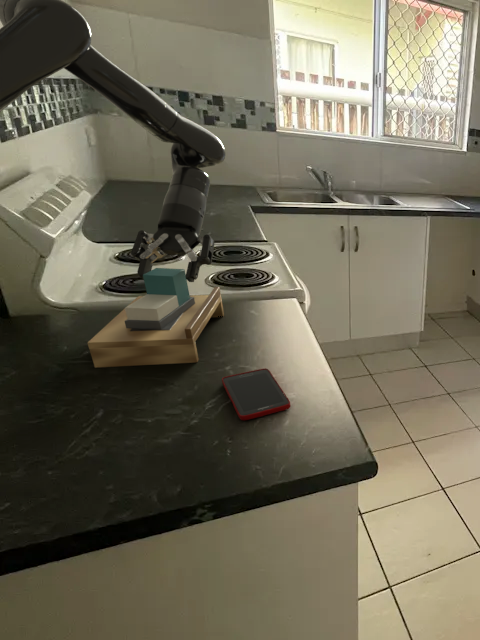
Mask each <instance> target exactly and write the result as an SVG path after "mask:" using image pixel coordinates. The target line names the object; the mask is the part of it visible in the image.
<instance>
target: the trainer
mask: <svg viewBox="0 0 480 640" xmlns="http://www.w3.org/2000/svg"><path fill="white" fill-rule="evenodd" d="M185 276H186V269H185V268H166V267H155V268H152V269H151V271H149V272H147V273H146V274H144V275H143V278H144V280H143V282H144V287H145V291H146V294H145V295H142V296H143V297H142V298H140V299H138V300H137V301H135V302H133V303H132V304H130V303H129V304H130V305H129V304H128V305H127V306H125V307H124V309H125V311H126V315H127V318H128V319H127V320H125V325H126V328H136V329H162V328H163V327H165V326H166V325H167V324H169V323H170V322H171V321H173V320H174V319H175V318H177V317H178V316H179V315H181V314H182V313H183V312H185V311H186V310H187V309H189V308H190V307H191V306H192V305H194V304H195V300H194V297H190V290H189V285H188V280H187V279H186V277H185Z"/></svg>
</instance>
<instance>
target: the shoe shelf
mask: <svg viewBox="0 0 480 640" xmlns="http://www.w3.org/2000/svg"><path fill="white" fill-rule="evenodd" d="M189 295H190V294H189ZM143 296H144V295H138V296H137V297H136V298H134V299H133V300H132V301H131V302H130V303H129V304H128V305H130V304H132V303H133V302H135V301H137V300H138V299H140V298H142V297H143ZM190 297H194V300H195V304H194V305H192V306H191V307H190V308H189V309H187V310H186V311H185V312H183V313H182V314H181V315H179V316H178V317H177V318H175V319H174V320H173V321H171V322H170V323H169V324H167V325H166V326H165V327H163V328H162V329H136V328H126V325H125V320H127V319H128V318H127V315H126V311H125V308H123V310H121V311H120V312H119V313H118V314H117V315H116V316H114V317H113V319H111V321H109V322H108V323H107V324H105V326H104V327H103V328H101V330H99V331H98V332H97V333H96V334H95V335H94V336H93V337H92V338H91V339H90V340H88V341H87V346H88V350H89V353H90V356H91V359H92V363H93V367H94V368H95V369H96V368H114V367H115V368H116V367H133V366H134V367H135V366H154V365H155V366H156V365H174V364H190V363H191V364H193V363H194V364H195V363H198V362H199V360H200V358H199V354H198V349H197V344H196V343H197V342H196V341H197V340H198V338H199V337H200V335H201V334H202V332H203V331H204V329H205V327H206V326H207V324H208V323H209V321H210V319H211V318H223V317H224V316H225V311H224V306H223V300H222V294H221V287H220V286H214V287H213V289H212V290H211V291H210V293H209V294H208V295H207V294H205V295H204V294H203V295H201V294H200V295H199V294H198V295H196V294H195V295H190ZM218 316H219V317H218ZM220 316H221V317H220ZM222 316H223V317H222Z"/></svg>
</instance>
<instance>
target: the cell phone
mask: <svg viewBox="0 0 480 640" xmlns="http://www.w3.org/2000/svg"><path fill="white" fill-rule="evenodd" d="M221 382H222V386H223V388H224V389H225V392H226V394H227V396H228V398H229V400H230V402H231V403H232V406H233V408H234V410H235V413H236V415H237V416H238V418H239V419H240V421H249V420H253V419H256V418H260V417H264V416H267V415H272V414H275V413H279V412H283V411H285V410H288V409H290V408H291V407H292V406H291V401H290V399H289V397H288V396H287V394H286V393H285V391H284V390H283V388H282V387H281V386H280V384H279V383H278V381H277V380H276V378H275V377H274V375H273V374H272V372H271V371H270V369H268V368H258V369H254V370H250V371H245V372H239V373H236V374H235V373H234V374H231V375H227V376H224V377H222V378H221Z"/></svg>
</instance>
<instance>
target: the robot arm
mask: <svg viewBox="0 0 480 640" xmlns="http://www.w3.org/2000/svg"><path fill="white" fill-rule="evenodd" d="M0 23H1V25H2V26H1V27H0V113H1V112H2V111H3V110H5V109H6V108H7V107H9V106H11V104H13V102H15V101H16V100H17V99H19V98H20V97H21V96H22V95H23V94H25V93H26V92H27V91H29V90H30V89H31V88H32V87H34V86H35V85H37V84H38V83H40V82H41V81H43V80H45V79H47V78H49V77H50V76H52V75H54V74H56V73H58V72H59V71H62V70H63V69H64V70H66V71H67V72H69V73H70V74H72V75H73V76H75V77H76V78H77V79H79V80H80V81H82V82H83V83H84V84H86V85H87V86H89V88H90V87H91V88H92V89H93V90H95V92H97V93H98V94H99V95H101V96H102V97H104V98H105V99H106V100H107V101H108V102H110V103H111V104H112V105H114V107H116V108H117V109H119V110H120V111H121V112H122V113H124V114H125V115H126V116H127V117H128V118H130V119H131V120H132V121H133V122H135V124H138V125H139V126H140V127H141V128H142V129H144V130H145V131H146V132H148V133H149V134H151V135H152V136H153V137H154V138H156V139H157V140H159V141H161V142H163V143H169V144H171V146H170V161H171V170H172V176H171V179H170V182H169V186H168V190H167V192H166V194H165V196H164V199H163V203H162V206H161V210H160V214H159V217H158V221H157V230H156V231H155V232H154V233H147V232H146V231H145V230H143V229H142V230H139V231H138V232H137V235H136V237H135V240H134V242H133V246H132V249H131V250H130V255H131V256H132V257H133V258H134V259H136V260H137V261H138V262H139V263H138V268H137V271H136V272H137V275H139V277H140V278H141V279H142V280H143V281H144V278H143V275H144V274H146V273H147V272H149V271H151V270H153V263H155V262H156V261H157V260H158V259H162V258H163V257H166V256H178V257H184V256H185V255H187V257H188V259H189V260H190V261H188V264H187V267H186V268H187V269H186V271H185V274H186V276H185V277H186V279H187V282H188V283H194V282H195V280H197V279H198V277H199V272H200V268H201V267H202V266H204V265H208V266H209V265H211V264H213V256H214V251H215V250H214V249H215V243H216V242H215V240H214V239H213V238H212V237H211V236H210V234H209V233H207V234H204V235H203V236H201V232H202V227H203V224H204V219H205V217H206V209H207V199H208V195H209V191H210V187H211V179H210V177H209V175H208V174H207V173H206V172H205V171H204V170H203V168H208V167H209V168H210V167H214V166H218V165H220V164H222V163H223V162H224V161H225V159H226V149H225V147H224V144H223V142H222V141H221V140H220V138H218V137H217V136H216V135H215V134H214V133H213V132H211V130H209V129H207V128H206V127H205V126H202V125H200V124H199V123H196V122H195V121H193V120H191V119H189V118H187V117H185V116H184V115H181V114H180V113H179V112H178V111H176V110H175V109H174V108H173V107H172V106H171V105H170V104H169V103H167V102H166V100H164V99H163V98H162V97H161V96H159V95H158V94H157V93H155V92H154V91H153V90H152V89H150V88H149V87H148V86H146V85H145V84H143V83H142V82H141V81H139V80H138V79H137V78H135V77H134V76H132V75H131V74H130V73H128V72H126V71H125V70H123V69H122V68H121V67H120V66H118V65H116V64H115V63H114V62H113V61H111V60H110V59H108V58H107V57H106V56H105V55H104V54H103V53H101V52H100V51H99V50H98V49H97V48H95V47H94V46H93V45H92V30H91V27H90V25H89V23H88V21H87V20H86V18H85V17H84V15H83V14H82V13H81V12H80V11H79V10H78V9H76V8H75V7H74V6H72V5H71V4H69V3H67V2H66V1H63V0H0ZM198 245H201V251H200V256H198V255H197V253H196V252H195V251H194V249H195V248H196V247H198ZM158 249H159V250H158Z"/></svg>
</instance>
